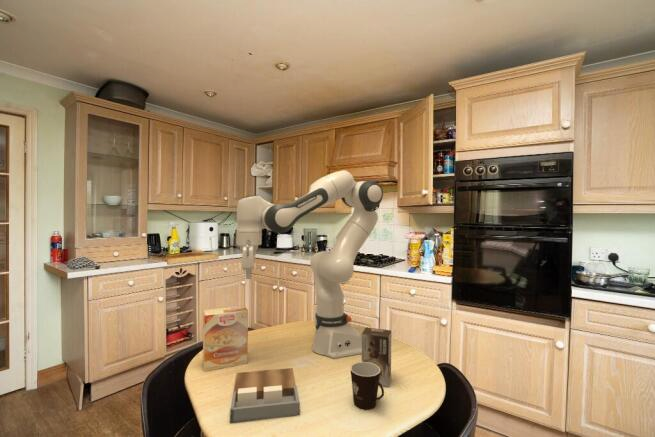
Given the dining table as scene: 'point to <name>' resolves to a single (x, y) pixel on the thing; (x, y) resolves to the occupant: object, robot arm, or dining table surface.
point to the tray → (265, 409)
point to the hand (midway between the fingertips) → (248, 278)
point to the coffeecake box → (225, 337)
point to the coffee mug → (365, 384)
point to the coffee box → (378, 351)
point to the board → (266, 381)
